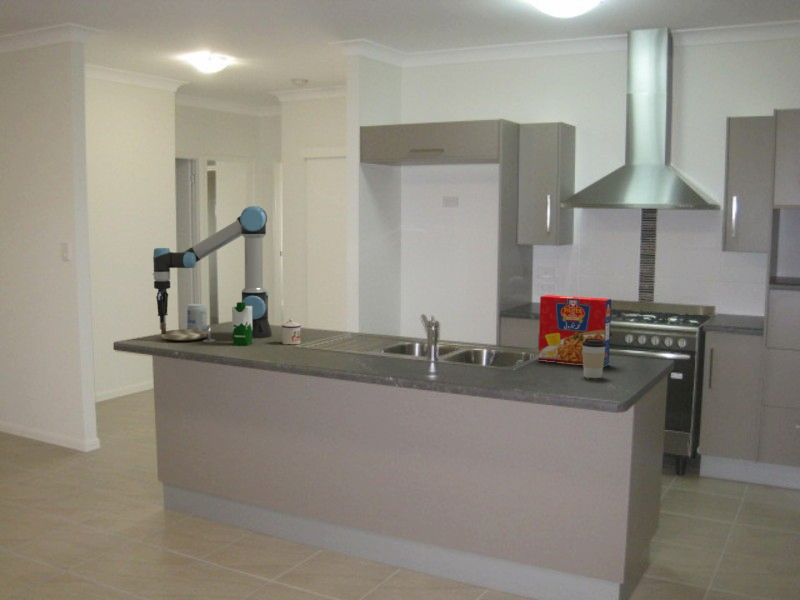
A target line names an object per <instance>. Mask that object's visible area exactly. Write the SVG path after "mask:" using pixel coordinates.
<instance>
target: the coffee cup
mask: <svg viewBox="0 0 800 600" xmlns="http://www.w3.org/2000/svg"><path fill="white" fill-rule="evenodd" d="M582 346H583V351H582V355H583V366H582V367H583V377H584V376H585V377H595V378H596V377H601V376H602V377H603V370H604V368H603V365H604V357H605V346H606V345H605V343H604V342H603V340H601V339H585V341H584V342H583V344H582ZM585 377H584V378H585Z"/></svg>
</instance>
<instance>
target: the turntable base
mask: <svg viewBox="0 0 800 600" xmlns="http://www.w3.org/2000/svg"><path fill="white" fill-rule="evenodd" d="M199 340H200V339H189V340H172V339H169V341H170V342H179V343H182V342H183V343H184V342H187V343H188V342H195V341H196V342H197V341H199Z"/></svg>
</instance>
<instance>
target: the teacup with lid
mask: <svg viewBox="0 0 800 600" xmlns="http://www.w3.org/2000/svg"><path fill="white" fill-rule="evenodd" d="M301 326H302V325H301V324H300V323H298V322H296V321H294V319H293V318H290V319H288V321H286V322H285V323H282V324H281V343H282V344H283V345H285V344H297V345H299V344H301Z"/></svg>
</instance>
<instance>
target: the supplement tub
mask: <svg viewBox="0 0 800 600" xmlns="http://www.w3.org/2000/svg"><path fill="white" fill-rule="evenodd" d="M186 313H187V315H186V317H187V318H186V319H187V321H186V324H187V326H186V327H187V329H196V330H205V331H207V318H208V317H207V314H208V312H207V304H205V303H189V304H187V311H186Z"/></svg>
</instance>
